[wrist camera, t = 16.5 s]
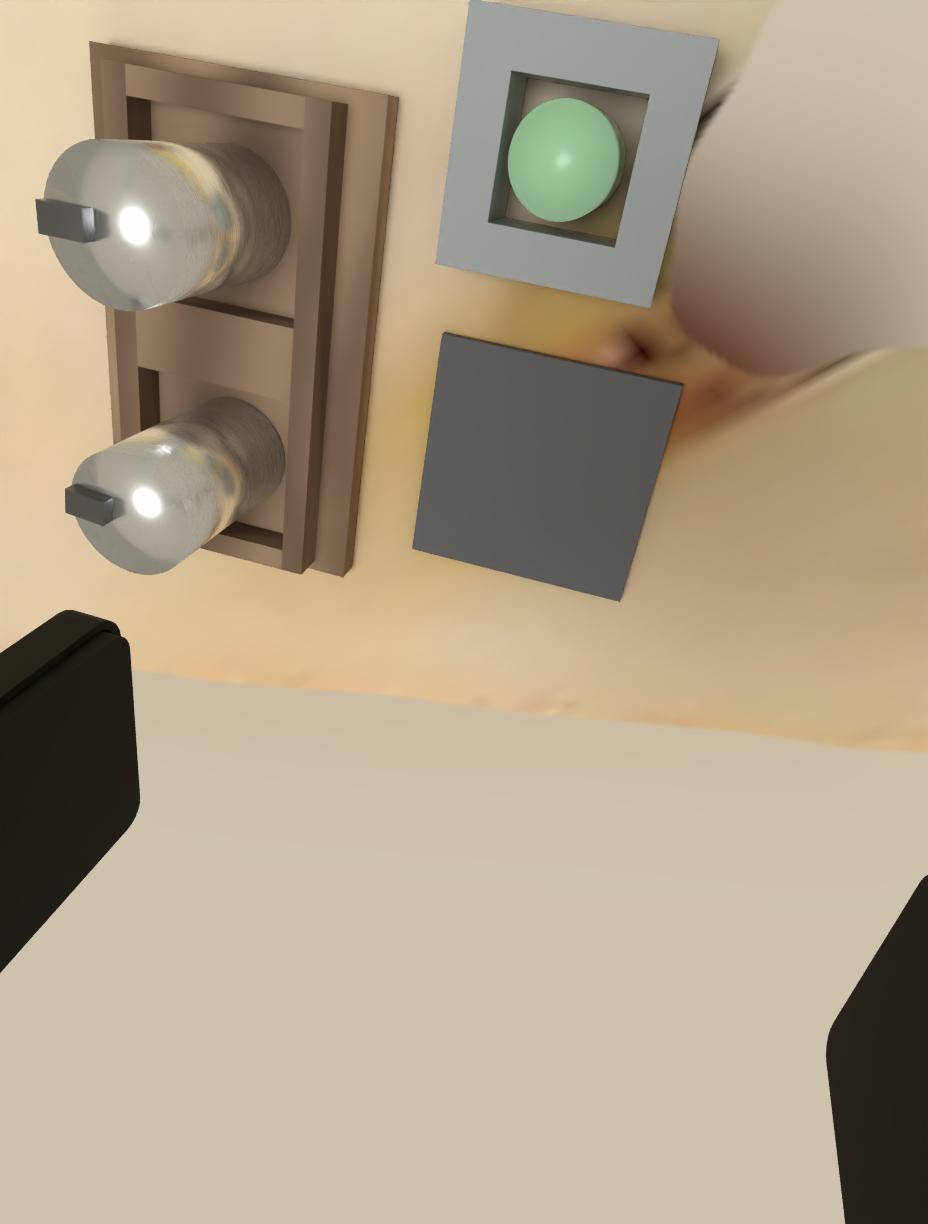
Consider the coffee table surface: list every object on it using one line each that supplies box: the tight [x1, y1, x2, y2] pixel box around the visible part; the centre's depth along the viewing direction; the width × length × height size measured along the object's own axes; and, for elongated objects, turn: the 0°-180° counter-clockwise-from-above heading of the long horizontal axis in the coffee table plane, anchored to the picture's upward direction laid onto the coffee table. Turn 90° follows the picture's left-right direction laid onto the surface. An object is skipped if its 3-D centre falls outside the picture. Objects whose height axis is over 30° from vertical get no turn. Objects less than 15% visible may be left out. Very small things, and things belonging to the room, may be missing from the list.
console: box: [435, 0, 719, 308], centre depth 29 cm, size 8×8×3 cm
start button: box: [508, 98, 625, 222], centre depth 29 cm, size 4×4×4 cm
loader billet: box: [35, 139, 291, 311], centre depth 30 cm, size 5×5×9 cm
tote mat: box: [412, 332, 683, 602], centre depth 37 cm, size 10×10×1 cm
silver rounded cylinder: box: [65, 397, 284, 575], centre depth 35 cm, size 5×5×9 cm
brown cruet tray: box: [89, 41, 399, 577], centre depth 36 cm, size 12×20×3 cm, turn 171°
